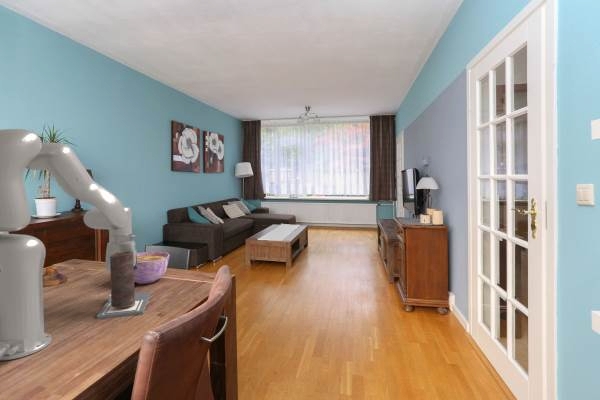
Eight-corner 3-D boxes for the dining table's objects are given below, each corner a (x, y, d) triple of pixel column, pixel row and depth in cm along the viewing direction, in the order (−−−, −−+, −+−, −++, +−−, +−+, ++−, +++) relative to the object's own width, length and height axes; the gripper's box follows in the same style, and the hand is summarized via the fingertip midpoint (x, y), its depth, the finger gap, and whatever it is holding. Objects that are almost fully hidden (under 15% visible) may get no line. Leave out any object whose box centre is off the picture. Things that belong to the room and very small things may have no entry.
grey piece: (142, 313, 107) (142, 304, 106) (96, 319, 102) (96, 309, 102) (150, 293, 125) (150, 285, 125) (111, 297, 121) (111, 289, 121)
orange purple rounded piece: (62, 285, 134) (62, 269, 134) (28, 289, 130) (27, 272, 129) (71, 278, 145) (70, 263, 144) (40, 280, 140) (39, 265, 140)
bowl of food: (179, 279, 145) (178, 255, 144) (138, 291, 127) (137, 264, 127) (153, 272, 155) (152, 249, 154) (112, 283, 138) (111, 258, 137)
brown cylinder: (124, 312, 105) (122, 255, 104) (105, 310, 106) (104, 253, 105) (139, 303, 112) (138, 250, 111) (122, 301, 114) (121, 249, 113)
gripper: (144, 235, 123) (145, 280, 124) (101, 238, 118) (103, 284, 119) (140, 239, 116) (142, 286, 117) (95, 241, 111) (97, 290, 112)
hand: (122, 285), depth 118 cm, fingers closed
